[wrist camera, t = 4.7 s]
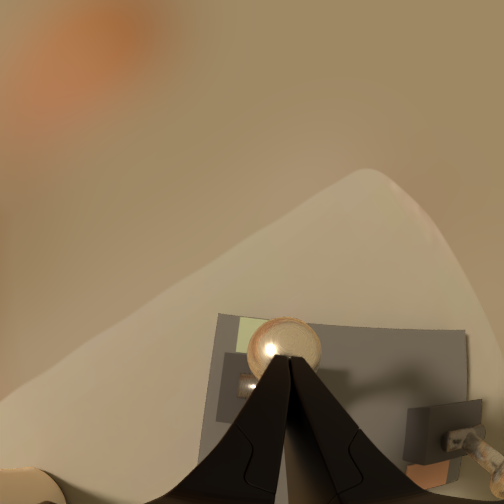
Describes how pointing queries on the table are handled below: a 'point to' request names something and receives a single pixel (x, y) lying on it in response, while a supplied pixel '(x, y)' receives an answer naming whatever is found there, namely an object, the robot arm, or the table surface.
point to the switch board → (365, 391)
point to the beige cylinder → (28, 487)
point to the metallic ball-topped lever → (278, 349)
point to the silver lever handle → (478, 453)
